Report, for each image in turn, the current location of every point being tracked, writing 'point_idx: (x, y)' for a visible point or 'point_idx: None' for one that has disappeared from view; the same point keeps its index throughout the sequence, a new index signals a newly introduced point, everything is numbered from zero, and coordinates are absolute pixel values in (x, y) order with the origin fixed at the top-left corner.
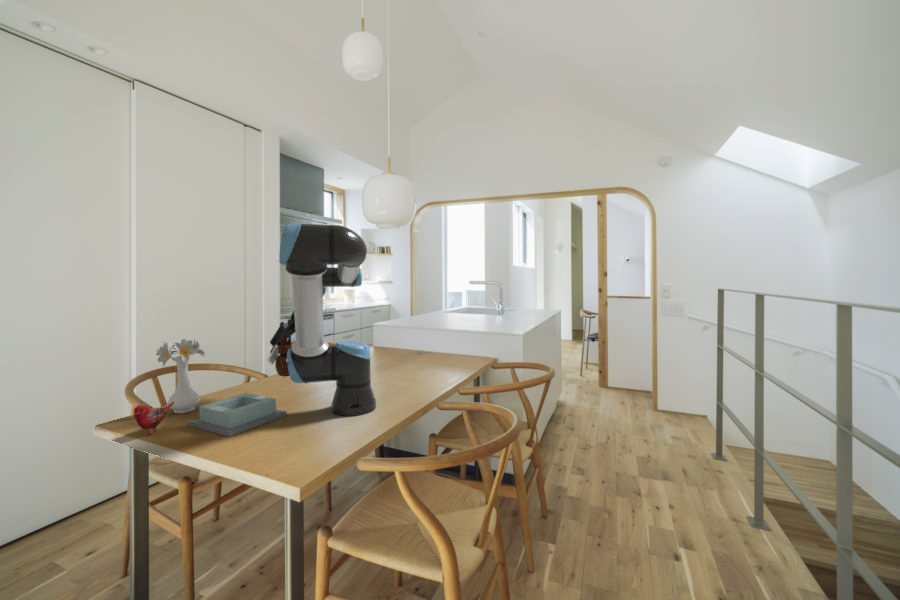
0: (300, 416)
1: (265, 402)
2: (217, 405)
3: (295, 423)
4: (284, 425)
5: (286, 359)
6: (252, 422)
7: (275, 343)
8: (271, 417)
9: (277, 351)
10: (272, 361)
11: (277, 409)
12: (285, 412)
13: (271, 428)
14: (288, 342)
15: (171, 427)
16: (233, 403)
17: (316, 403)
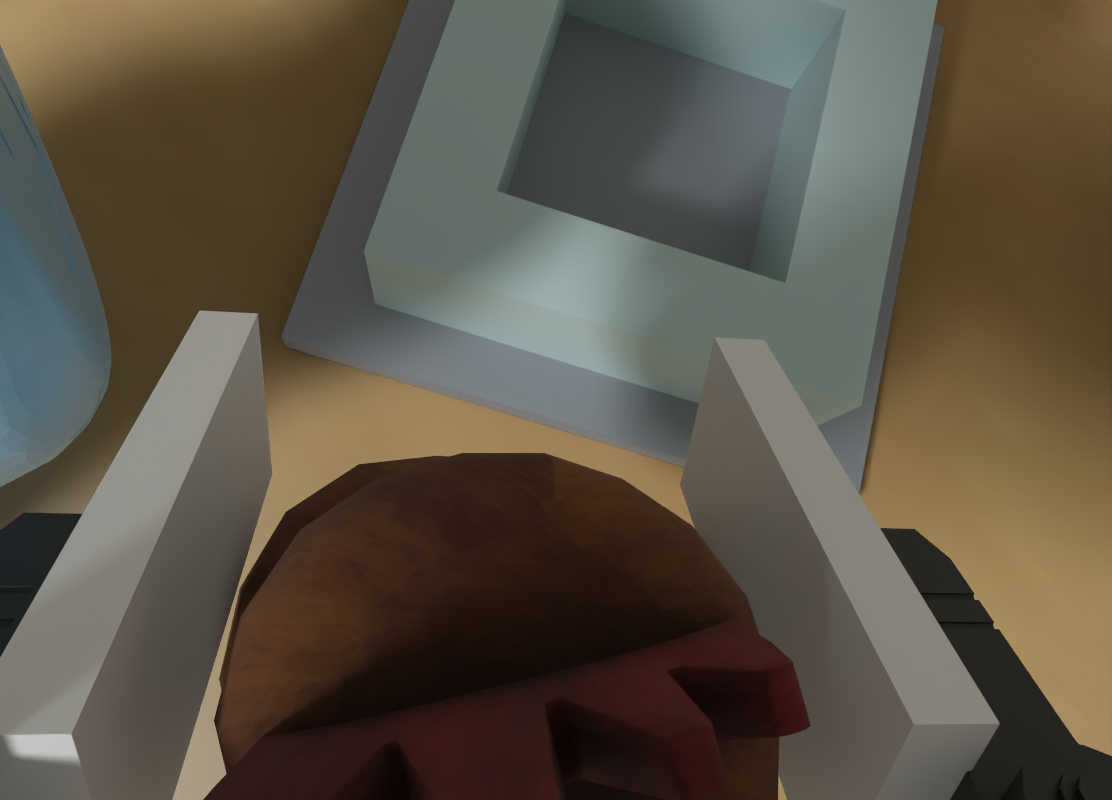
0: (122, 331)
1: (408, 132)
2: (835, 39)
3: (82, 163)
4: (162, 113)
5: (243, 327)
6: (429, 50)
7: (1072, 789)
8: (341, 181)
9: None
10: (701, 460)
11: (410, 375)
12: (287, 327)
13: (241, 46)
14: (324, 749)
15: (1005, 4)
16: (792, 195)
17: None
